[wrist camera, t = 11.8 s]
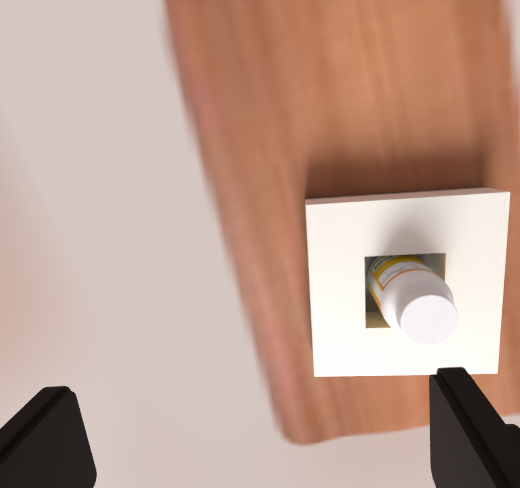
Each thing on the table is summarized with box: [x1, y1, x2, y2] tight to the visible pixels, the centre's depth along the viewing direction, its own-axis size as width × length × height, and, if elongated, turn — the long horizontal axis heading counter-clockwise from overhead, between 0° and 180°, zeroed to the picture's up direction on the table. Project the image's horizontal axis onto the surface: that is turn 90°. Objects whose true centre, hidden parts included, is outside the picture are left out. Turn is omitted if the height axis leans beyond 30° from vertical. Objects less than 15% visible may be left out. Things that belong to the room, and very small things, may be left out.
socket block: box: [305, 187, 510, 377], centre depth 35 cm, size 16×16×4 cm
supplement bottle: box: [367, 254, 458, 346], centre depth 32 cm, size 5×5×10 cm
